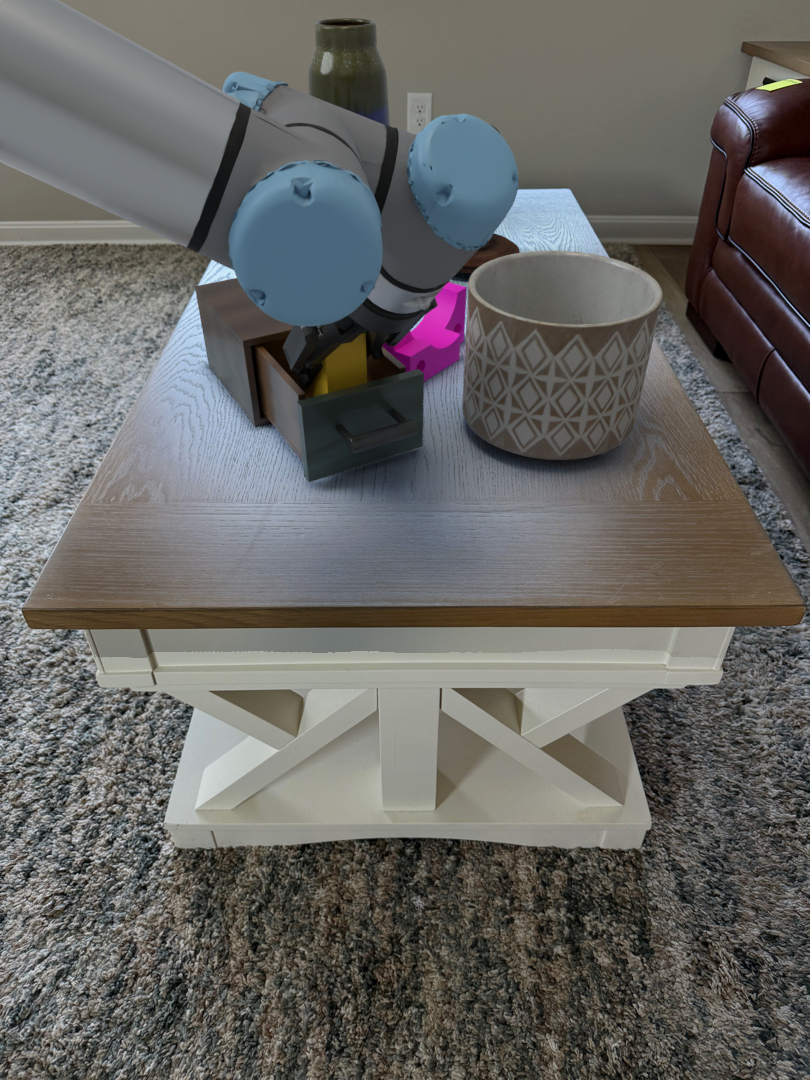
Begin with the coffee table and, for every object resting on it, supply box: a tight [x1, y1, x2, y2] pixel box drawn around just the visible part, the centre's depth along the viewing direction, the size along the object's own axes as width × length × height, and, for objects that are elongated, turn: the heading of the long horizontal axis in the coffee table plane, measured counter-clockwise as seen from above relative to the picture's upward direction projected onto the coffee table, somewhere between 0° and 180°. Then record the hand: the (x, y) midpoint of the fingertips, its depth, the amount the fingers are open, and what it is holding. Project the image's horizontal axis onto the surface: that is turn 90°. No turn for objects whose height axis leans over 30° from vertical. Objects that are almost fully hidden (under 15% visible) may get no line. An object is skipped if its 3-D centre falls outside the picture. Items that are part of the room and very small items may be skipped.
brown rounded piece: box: [457, 124, 521, 274], centre depth 121 cm, size 15×15×20 cm
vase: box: [308, 17, 391, 126], centre depth 129 cm, size 14×14×31 cm
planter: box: [461, 250, 664, 461], centre depth 85 cm, size 19×19×16 cm
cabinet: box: [194, 277, 294, 427], centre depth 94 cm, size 17×15×11 cm
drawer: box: [252, 338, 425, 483], centre depth 83 cm, size 20×13×9 cm
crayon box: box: [309, 333, 367, 398], centre depth 81 cm, size 4×5×11 cm
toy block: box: [382, 281, 468, 383], centre depth 99 cm, size 15×6×8 cm, turn 142°
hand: (323, 371), depth 85 cm, fingers closed on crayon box, 4 cm apart
